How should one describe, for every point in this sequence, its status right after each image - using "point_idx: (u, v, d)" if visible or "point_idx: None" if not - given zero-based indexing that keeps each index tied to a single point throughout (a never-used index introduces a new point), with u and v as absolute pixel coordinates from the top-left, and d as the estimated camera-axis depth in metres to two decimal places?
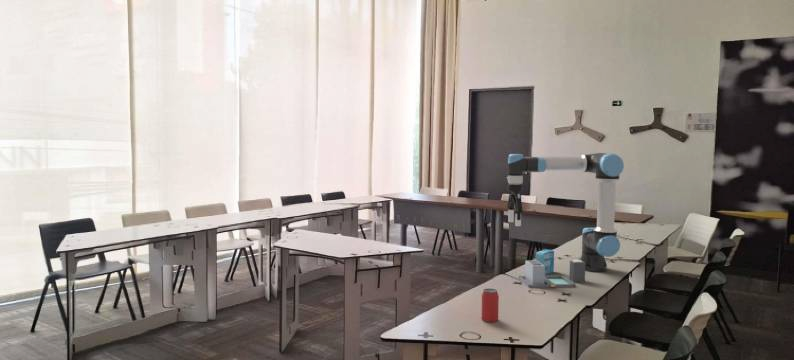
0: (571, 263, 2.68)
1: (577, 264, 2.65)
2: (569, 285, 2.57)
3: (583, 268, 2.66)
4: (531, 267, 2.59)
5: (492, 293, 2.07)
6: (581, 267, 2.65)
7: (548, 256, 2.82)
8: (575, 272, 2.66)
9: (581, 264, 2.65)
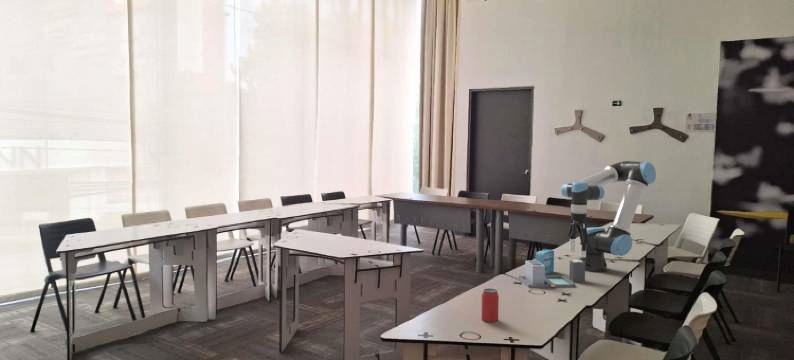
0: (571, 263, 2.68)
1: (577, 264, 2.65)
2: (569, 285, 2.57)
3: (583, 268, 2.66)
4: (531, 267, 2.59)
5: (492, 293, 2.07)
6: (581, 267, 2.65)
7: (548, 256, 2.82)
8: (575, 272, 2.66)
9: (581, 264, 2.65)
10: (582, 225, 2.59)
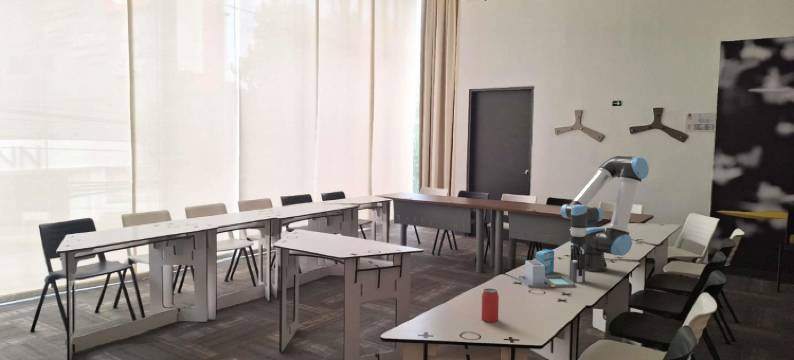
0: (571, 263, 2.68)
1: None
2: (569, 285, 2.57)
3: None
4: (531, 267, 2.59)
5: (492, 293, 2.07)
6: None
7: (548, 256, 2.82)
8: (575, 272, 2.66)
9: None
10: (581, 251, 2.61)
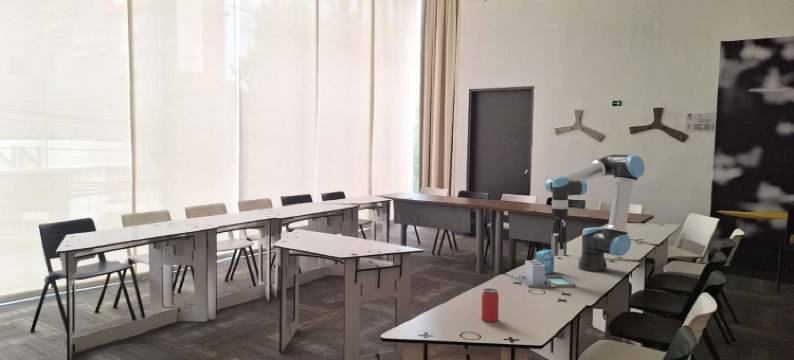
0: (552, 236, 2.63)
1: (558, 237, 2.61)
2: (569, 285, 2.57)
3: None
4: (531, 267, 2.59)
5: (492, 293, 2.07)
6: None
7: (548, 256, 2.82)
8: (556, 245, 2.61)
9: None
10: (562, 224, 2.56)
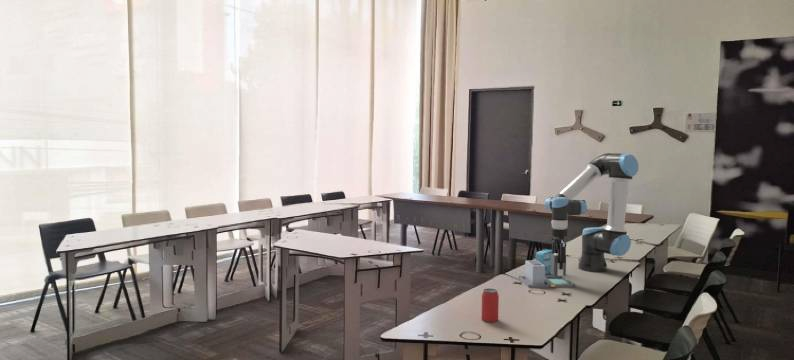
0: (552, 256, 2.64)
1: None
2: (569, 285, 2.57)
3: None
4: (531, 267, 2.59)
5: (492, 293, 2.07)
6: None
7: (548, 256, 2.82)
8: (555, 265, 2.62)
9: None
10: (562, 244, 2.57)
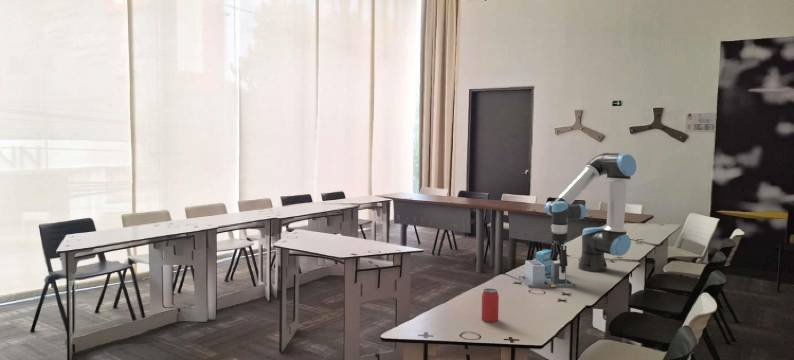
0: (552, 264, 2.64)
1: (558, 265, 2.62)
2: (569, 285, 2.57)
3: None
4: (531, 267, 2.59)
5: (492, 293, 2.07)
6: None
7: (548, 256, 2.82)
8: (555, 273, 2.62)
9: None
10: (562, 247, 2.57)
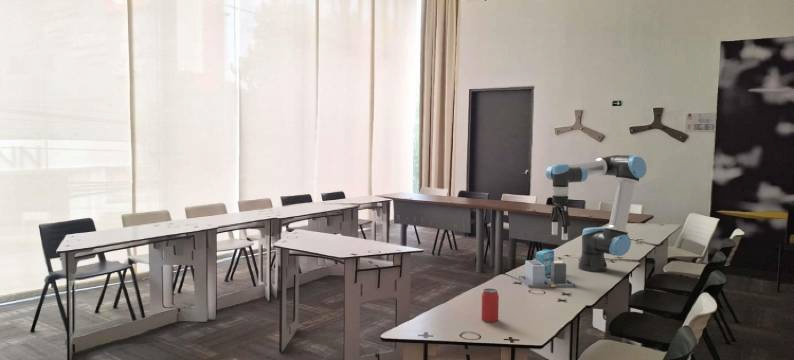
0: (552, 264, 2.64)
1: (558, 265, 2.62)
2: (569, 285, 2.57)
3: (564, 269, 2.62)
4: (531, 267, 2.59)
5: (492, 293, 2.07)
6: (562, 268, 2.62)
7: (548, 256, 2.82)
8: (555, 273, 2.62)
9: (562, 265, 2.62)
10: (563, 207, 2.56)
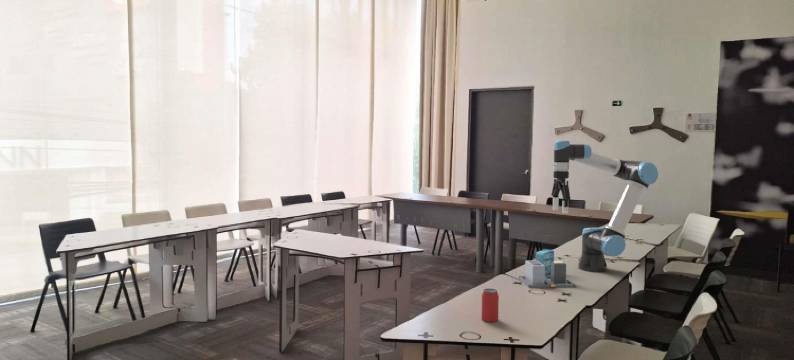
0: (552, 264, 2.64)
1: (558, 265, 2.62)
2: (569, 285, 2.57)
3: (564, 269, 2.62)
4: (531, 267, 2.59)
5: (492, 293, 2.07)
6: (562, 268, 2.62)
7: (548, 256, 2.82)
8: (555, 273, 2.62)
9: (562, 265, 2.62)
10: (564, 182, 2.65)
